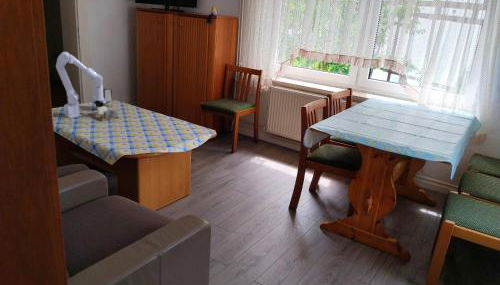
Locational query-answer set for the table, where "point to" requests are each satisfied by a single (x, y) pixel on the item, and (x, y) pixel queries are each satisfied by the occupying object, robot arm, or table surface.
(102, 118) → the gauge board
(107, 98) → the coffee box
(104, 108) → the white rectangular block
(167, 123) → the table surface
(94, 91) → the robot arm
